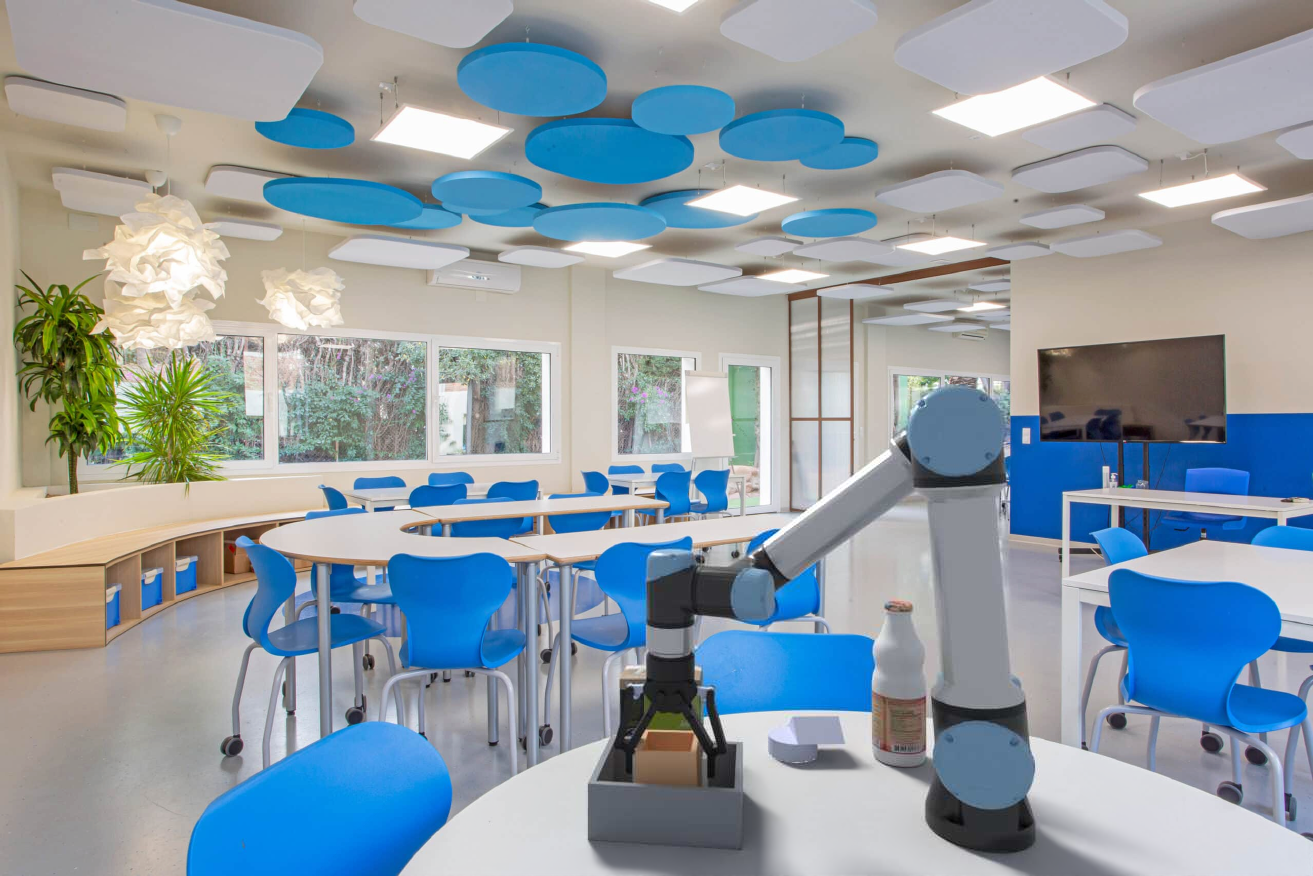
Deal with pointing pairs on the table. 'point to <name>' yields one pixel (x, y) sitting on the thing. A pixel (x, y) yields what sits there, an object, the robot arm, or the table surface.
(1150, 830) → the table surface
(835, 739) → the wedge on round base
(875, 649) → the fruit juice
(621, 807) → the large crate
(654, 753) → the small crate
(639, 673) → the tea box
